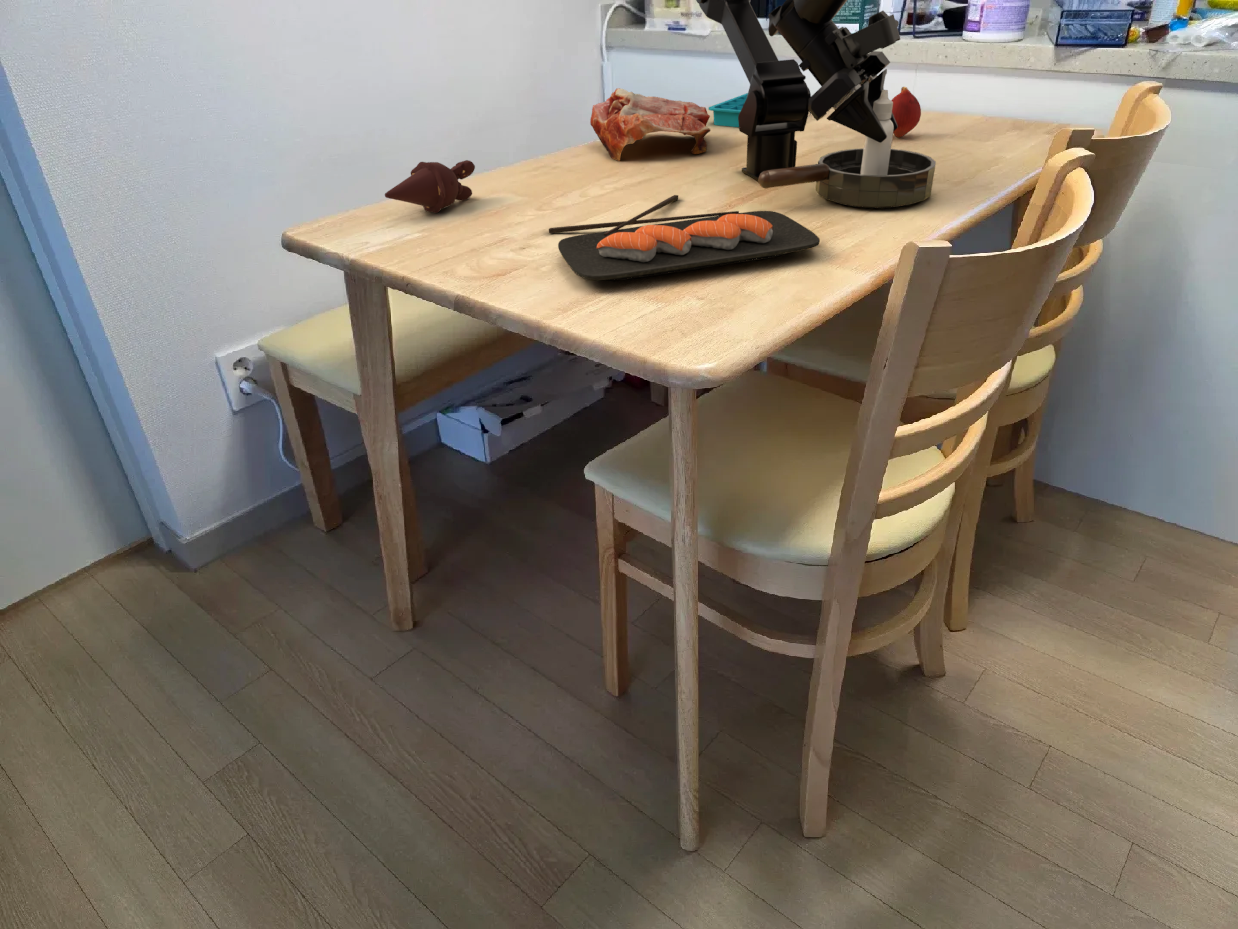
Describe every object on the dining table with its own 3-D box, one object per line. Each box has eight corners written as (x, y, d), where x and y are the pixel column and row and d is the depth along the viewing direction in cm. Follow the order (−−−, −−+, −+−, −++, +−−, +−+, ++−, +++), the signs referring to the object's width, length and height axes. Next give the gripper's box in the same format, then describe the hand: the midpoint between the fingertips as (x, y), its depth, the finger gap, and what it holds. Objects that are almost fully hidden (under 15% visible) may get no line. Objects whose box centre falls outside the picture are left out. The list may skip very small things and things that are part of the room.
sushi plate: (582, 296, 88) (579, 262, 86) (528, 217, 112) (525, 189, 110) (828, 259, 94) (832, 225, 92) (727, 191, 118) (727, 164, 116)
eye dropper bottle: (846, 185, 113) (857, 91, 106) (873, 177, 116) (885, 84, 109) (871, 191, 110) (884, 95, 104) (898, 183, 113) (912, 89, 106)
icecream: (403, 180, 106) (491, 166, 116) (369, 158, 109) (458, 146, 119) (401, 230, 111) (486, 212, 120) (368, 208, 114) (454, 192, 124)
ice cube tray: (705, 125, 156) (705, 108, 154) (755, 105, 169) (755, 89, 168) (760, 130, 150) (761, 112, 148) (807, 109, 163) (809, 93, 162)
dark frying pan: (851, 217, 106) (855, 181, 103) (796, 187, 118) (799, 155, 116) (953, 202, 109) (959, 167, 107) (890, 175, 121) (894, 143, 119)
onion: (913, 133, 143) (920, 82, 139) (920, 140, 138) (928, 89, 134) (879, 133, 144) (885, 84, 139) (884, 141, 139) (891, 90, 134)
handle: (762, 190, 107) (763, 173, 106) (755, 186, 109) (755, 169, 108) (832, 181, 110) (834, 164, 108) (824, 177, 111) (826, 160, 110)
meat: (659, 128, 155) (658, 70, 150) (739, 145, 141) (741, 81, 135) (569, 148, 145) (564, 86, 140) (644, 168, 131) (642, 101, 125)
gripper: (844, -3, 95) (926, 105, 97) (883, -18, 108) (955, 77, 110) (774, 69, 103) (851, 168, 104) (819, 47, 116) (887, 135, 118)
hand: (889, 134), depth 109 cm, fingers closed on eye dropper bottle, 5 cm apart
